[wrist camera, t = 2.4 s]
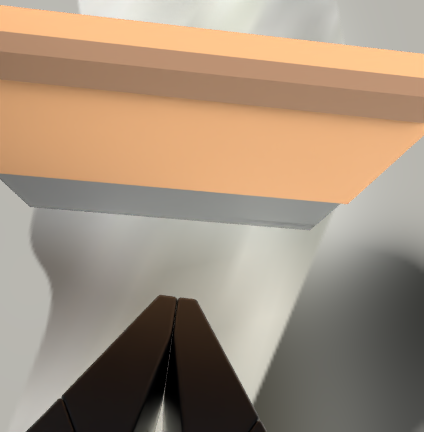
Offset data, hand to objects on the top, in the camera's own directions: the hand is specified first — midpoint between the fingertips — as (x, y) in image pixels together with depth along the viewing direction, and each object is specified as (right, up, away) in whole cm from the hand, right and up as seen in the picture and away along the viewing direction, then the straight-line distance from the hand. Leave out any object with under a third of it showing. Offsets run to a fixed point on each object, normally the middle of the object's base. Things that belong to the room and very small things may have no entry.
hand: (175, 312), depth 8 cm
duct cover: (-1, +6, +5) cm, 7 cm away
